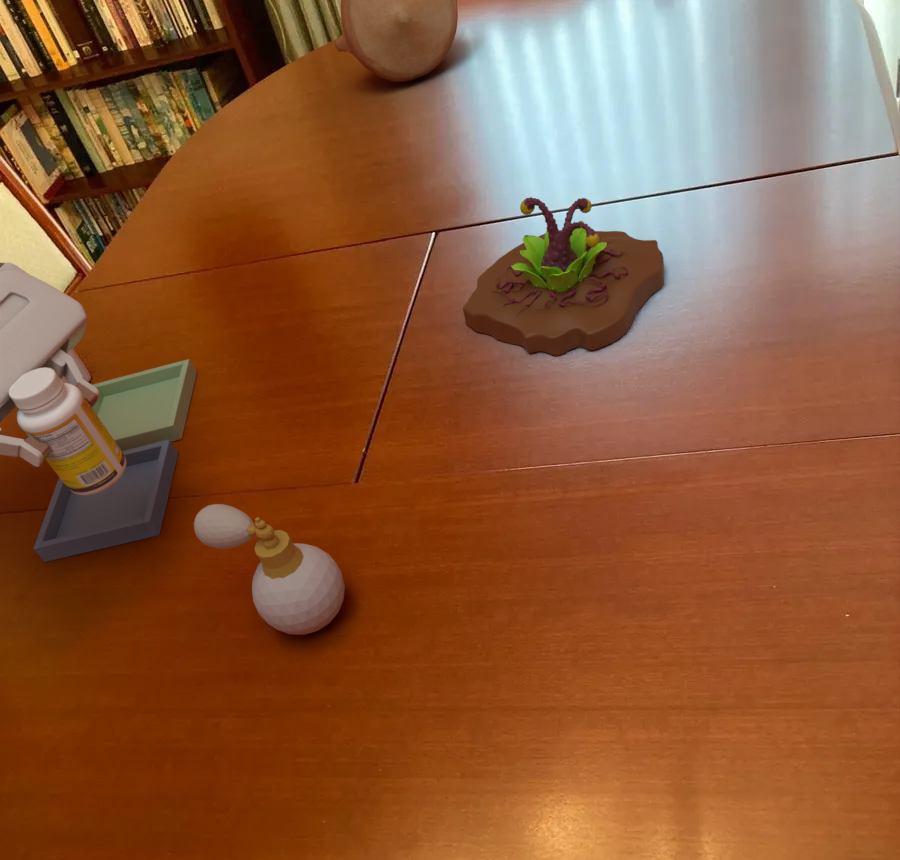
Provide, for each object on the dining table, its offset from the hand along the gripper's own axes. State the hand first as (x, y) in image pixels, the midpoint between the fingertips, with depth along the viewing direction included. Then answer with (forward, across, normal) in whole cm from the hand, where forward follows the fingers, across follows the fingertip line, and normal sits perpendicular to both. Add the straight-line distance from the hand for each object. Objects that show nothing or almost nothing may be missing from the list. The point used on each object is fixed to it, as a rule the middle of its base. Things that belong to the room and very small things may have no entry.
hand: (70, 429), depth 73 cm
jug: (-5, -114, -27) cm, 117 cm away
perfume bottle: (+24, +4, +2) cm, 25 cm away
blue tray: (+4, -5, -18) cm, 20 cm away
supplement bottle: (+4, 0, -4) cm, 6 cm away
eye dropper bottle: (-11, -25, -34) cm, 44 cm away
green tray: (-1, -19, -23) cm, 30 cm away
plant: (+30, -42, +8) cm, 53 cm away
